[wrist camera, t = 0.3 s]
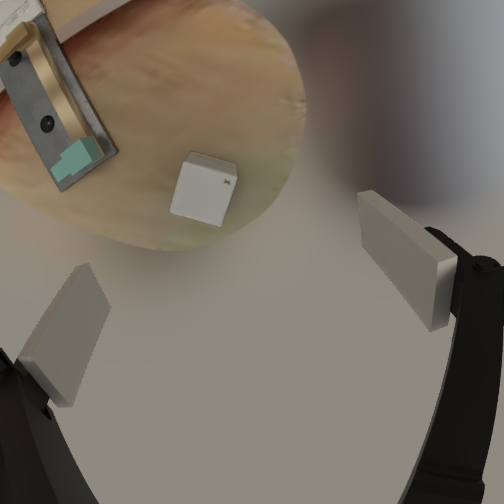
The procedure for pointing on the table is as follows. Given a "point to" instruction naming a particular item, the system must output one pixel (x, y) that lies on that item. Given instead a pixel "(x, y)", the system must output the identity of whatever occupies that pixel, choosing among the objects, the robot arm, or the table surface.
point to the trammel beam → (47, 77)
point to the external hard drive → (17, 14)
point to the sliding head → (76, 158)
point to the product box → (204, 188)
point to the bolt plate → (51, 105)
